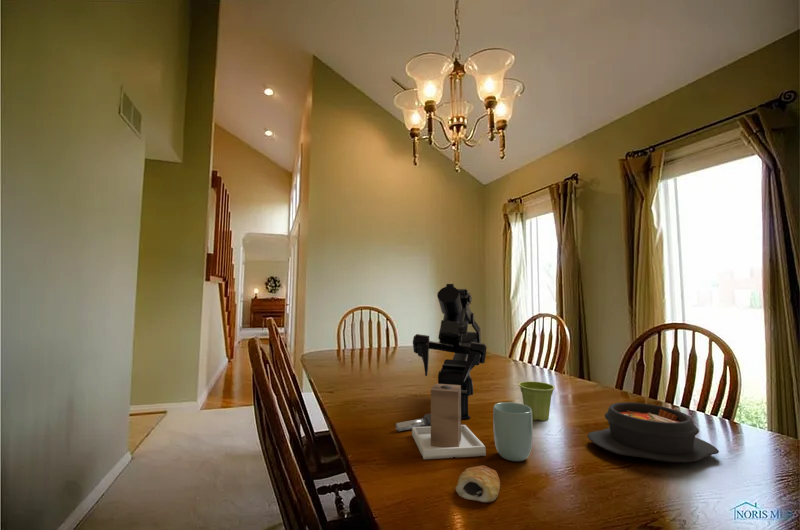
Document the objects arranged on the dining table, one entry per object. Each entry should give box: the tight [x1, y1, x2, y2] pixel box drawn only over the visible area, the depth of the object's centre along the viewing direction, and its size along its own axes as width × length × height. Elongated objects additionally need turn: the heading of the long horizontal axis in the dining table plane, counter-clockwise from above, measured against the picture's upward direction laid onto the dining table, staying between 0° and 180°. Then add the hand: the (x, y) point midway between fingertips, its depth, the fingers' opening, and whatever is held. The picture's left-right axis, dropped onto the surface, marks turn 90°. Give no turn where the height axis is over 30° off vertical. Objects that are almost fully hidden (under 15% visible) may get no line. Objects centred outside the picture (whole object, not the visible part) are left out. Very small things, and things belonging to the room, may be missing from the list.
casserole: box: [587, 402, 720, 463], centre depth 80 cm, size 25×19×8 cm
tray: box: [411, 424, 487, 460], centre depth 82 cm, size 13×13×2 cm
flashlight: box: [395, 413, 431, 433], centre depth 92 cm, size 11×3×3 cm, turn 119°
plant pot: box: [518, 380, 555, 422], centre depth 101 cm, size 9×9×9 cm
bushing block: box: [430, 383, 462, 448], centre depth 82 cm, size 6×6×12 cm
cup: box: [492, 401, 534, 462], centre depth 76 cm, size 8×8×10 cm
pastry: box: [455, 465, 501, 503], centre depth 63 cm, size 9×7×4 cm
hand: (444, 378), depth 90 cm, fingers open, 9 cm apart
